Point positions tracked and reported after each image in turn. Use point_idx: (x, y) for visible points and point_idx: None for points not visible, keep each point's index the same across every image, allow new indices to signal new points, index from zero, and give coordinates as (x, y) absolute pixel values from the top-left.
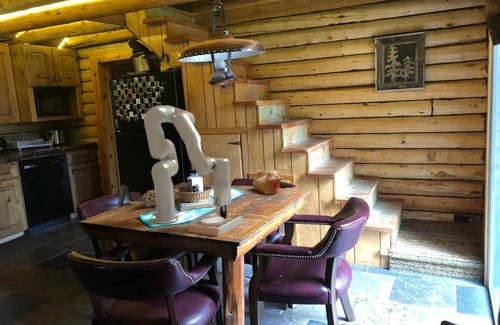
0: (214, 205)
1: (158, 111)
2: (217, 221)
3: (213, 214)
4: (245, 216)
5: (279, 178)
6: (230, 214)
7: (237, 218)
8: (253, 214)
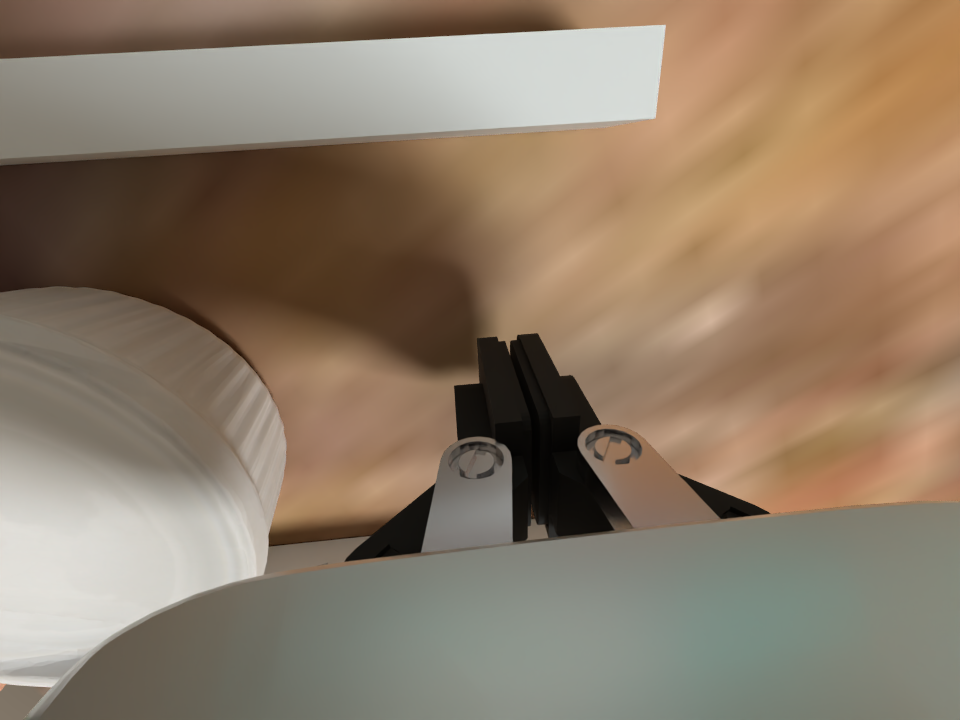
0: (149, 629)
1: None
2: (67, 625)
3: (560, 88)
4: (824, 444)
5: None
6: (932, 184)
7: None
8: (916, 474)
